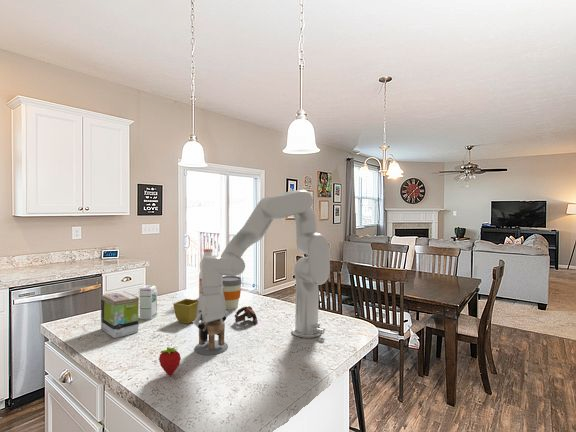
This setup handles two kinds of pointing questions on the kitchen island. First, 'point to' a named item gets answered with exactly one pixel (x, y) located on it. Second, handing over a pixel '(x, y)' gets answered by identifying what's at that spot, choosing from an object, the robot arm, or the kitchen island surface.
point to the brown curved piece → (245, 314)
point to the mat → (206, 351)
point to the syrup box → (148, 302)
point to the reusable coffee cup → (231, 291)
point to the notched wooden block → (213, 329)
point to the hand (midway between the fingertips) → (211, 337)
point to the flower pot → (186, 310)
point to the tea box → (119, 314)
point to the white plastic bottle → (206, 253)
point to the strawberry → (169, 360)
